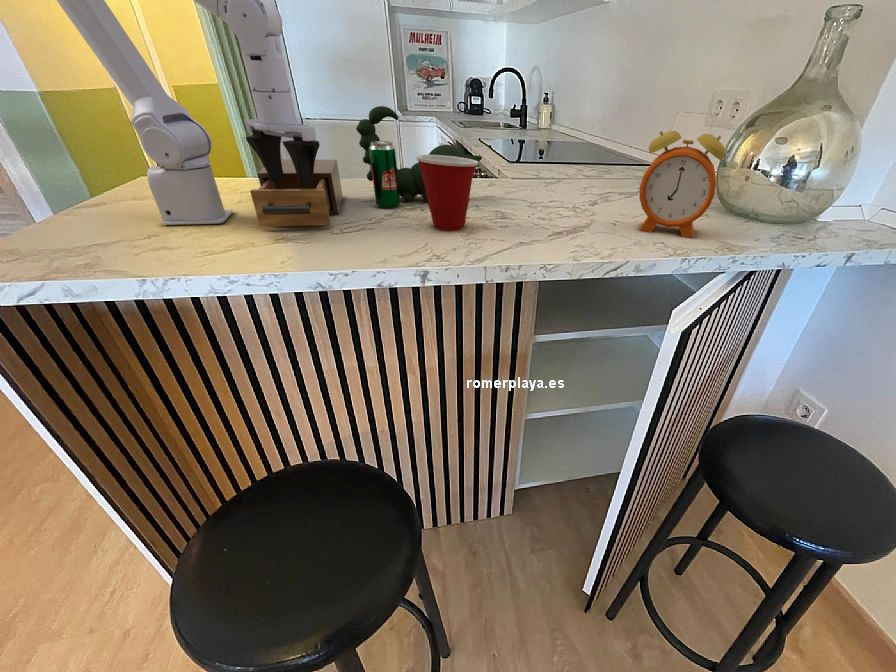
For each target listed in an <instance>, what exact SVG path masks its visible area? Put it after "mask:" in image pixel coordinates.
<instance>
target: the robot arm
mask: <svg viewBox="0 0 896 672" xmlns="http://www.w3.org/2000/svg"><path fill="white" fill-rule="evenodd" d="M192 1H193V2H195V3H196V4H197V5H199V6H201V7H202V8H203V9H205V10H207V11H208V12H209V13H211V14H212V15H214V16H216V17H217V18H219V19H220V20H221V21H223V22H224V23H226V24H227V25H228V28H229V30H231V31H232V32H233V34H234V35H235V36H236V38H237V39H238V42H239V46H240V50H241V56H242V59H243V63H244V67H245V71H246V75H247V76H246V77H247V80H248V83H249V87H250V91H251V95H252V99H253V104H254V108H255V113H256V115H257V118H251V119H250V118H249V119H244V123H245V128H246V130H247V133H248V134H251V135H249V136H248V135H247V136H245V141H246V143H248V145H249V146H250V147H251V148H252V149H253V151H254V152H255V154H256V155H257V157H258V158H259V160H260V161H261V163H262V166H263V168H264V167H265V169H266V171H267V173H268V175H269V177H270V179H271V181H278V180H283V168H282V163H281V159H282V157H281V146H282V145H283V147H284V148H285V150H286V151H287V153H288V155H289V157H290V159H291V160H292V162H293V164H294V167H295V170H296V174H297V177H298V181H299V183H300V185H301V187H309V186H313V175H314V163H315V160H316V158H317V154H318V151H319V149H320V146H321V145H320V141H319V140H318V139H317V134H316V128H315V126H311V125H307V124H303V123H300V122H298V120H297V116H296V115H297V114H296V111H295V105H294V100H293V96H292V92H291V87H290V81H289V76H288V71H287V67H286V63H285V57H284V54H283V49H282V43H281V39H280V37H281V35H282V32H283V19H282V16H281V13H280V11H279V9H278V8H277V6H276V5H275V4H274V3H273V2H272V1H271V0H192ZM56 2H57V3H58V5H59V6H60V7H61V9H62V10H63V12H64V13H65V15H66V16H67V17H68V18H69V20H70V22H71V23H72V24H73V26H74V27H75V28H76V30H77V32H78V33H79V35H81V37H82V38H83V40H84V41H85V43H86V44H87V45H88V47H89V48H90V50H91V51H92V52H93V54H94V55H95V56H96V58H97V60H98V61H99V62H100V63H101V65H102V66H103V67H104V69H105V70H106V72H107V73H108V75H109V76H110V78H111V79H112V80H113V82H114V83H115V85H116V86H117V87H118V89H119V90H120V91H121V93H122V94H123V96H124V97H125V98H126V100H127V101H128V103H129V104H130V105H131V107H132V112H131V116H130V124H131V125H132V127H133V128H134V130H135V131H136V133H137V135H138V137H139V140H140V144H141V146H142V147H141V148H142V149H143V151H144V152H145V154H146V155H147V156H148V157H149V158H150V159H151V160H152V161H153V162H155V163H156V164H157V166H156V165H155V166H154V165H153V166H150V167H149V168H148V169H147V171H146V172H147V173H146V174H147V182H148V186H149V188H150V191H151V194H152V196H153V198H154V201H155V204H156V206H157V208H158V211H159V213H160V216H161V219H162V221H161V224H162V225H164V226H171V225H173V226H174V225H175V226H179V225H215V224H216V225H217V224H218V225H219V224H223V223H224V222H225V221H227V219H229V217H230V216H231V215H232V214H233V213H234V210H233V209H225V207H224V203H223V200H222V198H221V194H220V191H219V188H218V185H217V182H216V178H215V175H214V172H213V169H212V166H211V160H210V154H211V153H212V149H213V143H212V138H211V136H210V134H209V133H208V131H207V130H206V128H205V127H203V125H202V124H200V123H199V122H198V121H197V120H195V119H194V118H193V117H192V115H191V114H190V112H189V111H188V109H187V108H186V107H184V105H182V104H181V103H179V102H177V100H175V99H174V98H172V97H171V96H169V95H168V93H167V92H166V90H165V88H164V87H163V86H162V84H161V82H160V81H159V80H158V77H156V75H155V74H154V72H153V71H152V70H151V68H150V66H149V65H148V63H147V62H146V60H145V59H144V57H143V55H142V54H141V52H140V51H139V49H138V48H137V47H136V46H135V44H134V42H133V41H132V39H131V38H130V36H129V35H128V33H127V31H125V29H124V28H123V26H122V24H121V23H120V22H119V20H118V19H117V16H116V15H115V14H114V12H113V11H112V10H111V8H110V7H109V5H108V4H107V1H106V0H56ZM282 138H287V139H290V140H284V141H282ZM281 143H282V145H281Z"/></svg>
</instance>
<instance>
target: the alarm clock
mask: <svg viewBox="0 0 896 672" xmlns="http://www.w3.org/2000/svg"><path fill="white" fill-rule="evenodd" d="M687 113H688V114H693V111H692V112H690V111H685V114H687ZM677 114H678V112H676V113H675V116H674V120H673V124H672V125H674V123H675V121H676V117H677ZM699 114H700V115H701V114H703V115H707V113H704V112H699ZM711 115H712V116H713V117H712V118H714V116H715V115H714V113H711ZM713 121H714V119H712V120H711V123H713ZM712 126H713V124H711V127H710V128H712ZM673 128H674V126H671V129H668V130H667V131H665V132H663V130H660V131H659V136H657V137H655V138H654V139H652V141H651V142H650V143H649V146H648V152H649V153H648V154H649V155H650V154H653V153H656V152H658V151H661V150H663V149H664V151H663V152H662V153H661V154H659V155H658V156H657V157H655V158H654V160H653V161H652V162H651V164H650V165H649V166H648V168H647V169H646V170H645V172H644V174H643V176H642V179H641V181H640V185H639V197H638V198H639V202H640V206H641V209H642V211H643V212H644V214H645V215H646V216H647V217H646V218H645V220H644V221H643V223H642V225H641V226H640V229H639V231H641V232H647V233H651V232H652V231H653V230H654V229H655V227H656V226H657V225H659V226H663V227H666V228H679V232H680V234H681V237H682V238H683V237H684V238H690V239H694V234H695V233H694V232H695V229H694V223H693V222H695V221H696V220H698V219H699V218H700V217H702V216H703V215H704V214H705V212H706V211H707V210H708V209H709V207H710V206H711V205H712V202H713V199H714V197H715V195H716V188H717V175H716V171H715V166H714V164H713V162H712V160H711V159H710V158H709V156H708V154H709V153H710V154H711V155H712V156H713V157H714V158H716V159H717V160H719V161H722V160H723V159H724V157H725V155H726V151H727V150H726V147H725V145H724V144H723V143H722V142H721V141H720V140H721V138H722V136H721V135H718V136H715V135H714V134H713V133H712V132H711V131H712V130H710V131H709V132H710V133H707V132H706V133H703V134H701V135H699V136H698V137H697V138H696V141H697V142H698V143H699V145H700V146H702V147H703V148H704V149H705V152H704V151H702V150H700V149H699V148H695V147H692V146H689V145H693V144H695V140H693V139H683V140H682V144H685V146H675V147H672V148H670V149H668V147H669V146H671V145H673V144H674V143H676V142H679V140H681V139H682V138H683V137H682V136H681V134H680V132H678V131H677V130H672V129H673Z"/></svg>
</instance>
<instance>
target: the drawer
mask: <svg viewBox="0 0 896 672" xmlns="http://www.w3.org/2000/svg"><path fill="white" fill-rule="evenodd" d="M249 192H250V196H251V200H252V203H253V206H254V210H255V214H256V218H257V221H258V225H259V227H260V228H263V227H264V228H266V227H267V228H269V227H271V228H272V227H304V226H305V227H307V226H308V227H309V226H311V227H312V226H331V218H330V215H329V211H330V208H331V205H332V203H331V198H330V192H329V187H328V181H327V178H313V186H309V187H301V185H300V183H299V181H298V178H283V180H278V181H271V179H270V178H268V179H267V180H266V181H265V183H264V184H263V185H262V186H261V185H260V187H259V188H258V189H257V188H256V189H250V191H249Z"/></svg>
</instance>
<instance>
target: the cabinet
mask: <svg viewBox="0 0 896 672" xmlns="http://www.w3.org/2000/svg"><path fill="white" fill-rule="evenodd" d="M281 163H282V168H283V178H298V177H297V174H296V170H295V167H294V164H293V162H292V159H291V158H290V159H282V158H281ZM338 165H339V164H338V160H337V159H315V163H314V175H313V178H327V181H328V187H329V192H330V198H331V203H332V205H331V208H330V211H329V216H339V214H340V210H341V207H342V202H343V197H344V195H343V189H342V183H341V176H340V171H339V166H338ZM256 174H257V177H258V181H259V186H260V187H261V186H262V185H263V184H264V183H265V181H266V180H267V179H268V178H270V177H269V175H268V173H267V171H266V169H265V167H264V166H263V167H262V169H260V170H259V171H258V172H257V173H256Z"/></svg>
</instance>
